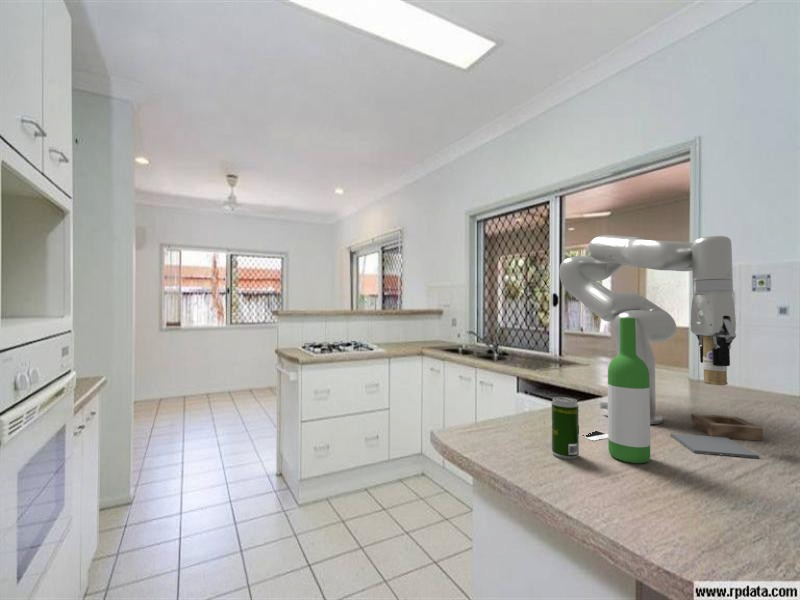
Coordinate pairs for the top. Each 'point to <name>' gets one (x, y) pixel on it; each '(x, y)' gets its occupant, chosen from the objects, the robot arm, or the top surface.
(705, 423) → the walnut caddy
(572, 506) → the top surface
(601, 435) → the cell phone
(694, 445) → the charcoal mat
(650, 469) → the top surface
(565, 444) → the beer can
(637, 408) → the wine bottle
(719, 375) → the sprinkles bottle
